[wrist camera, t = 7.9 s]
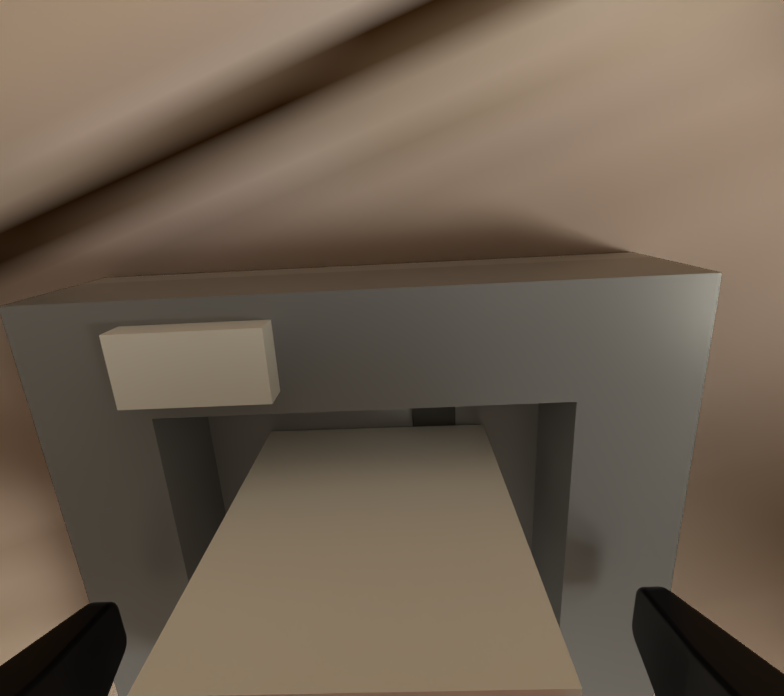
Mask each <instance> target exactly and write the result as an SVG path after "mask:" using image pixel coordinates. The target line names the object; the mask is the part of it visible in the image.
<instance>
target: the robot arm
mask: <svg viewBox="0 0 784 696" xmlns="http://www.w3.org/2000/svg"><path fill="white" fill-rule="evenodd" d="M632 632H633V636H634V640H635V642H636V645H637V648H638V650H639V653H640V656H641V658H642V661H643V664H644V666H645V669H646V672H647V674H648V677H649V680H650V682H651V685H652V688H653V690H654V693H655V696H784V674H783V673H782V672H780V671H779V670H778V669H776V668H775V667H774V666H772V665H771V664H769V663H768V662H767V661H765V660H764V659H763V658H761V657H760V656H758V655H757V654H756V653H754V652H753V651H752V650H750V649H749V648H748V647H746V646H745V645H743V644H742V643H741V642H739V641H738V640H737V639H735V638H734V637H732V636H731V635H730V634H728V633H727V632H726V631H724V630H723V629H722V628H720V627H719V626H717V625H716V624H715V623H713V622H712V621H711V620H709V619H708V618H706V617H705V616H704V615H702V614H701V613H700V612H698V611H697V610H696V609H694V608H693V607H691V606H690V605H689V604H687V603H686V602H685V601H683V600H682V599H680V598H679V597H678V596H676V595H675V594H674V593H672V592H671V591H669V590H668V589H666V588H664V587H660V586H655V587H640V588H639V589H638V590H637V592H636V597H635V604H634V611H633V619H632ZM126 645H127V636H126V632H125V628H124V625H123V621H122V618H121V614H120V611H119V608H118V605H117V604H116V603H114V602H93V603H90V604H88V605H86V606H84V607H83V608H82V609H80V610H79V611H77V612H76V613H75V614H73V615H72V616H70V617H69V618H67V619H66V620H65V621H63V622H62V623H60V624H59V625H58V626H56V627H55V628H53V629H52V630H51V631H49V632H48V633H46V634H45V635H43V636H42V637H41V638H39V639H38V640H36V641H35V642H34V643H32V644H31V645H29V646H28V647H27V648H25V649H24V650H22V651H21V652H19V653H18V654H17V655H15V656H14V657H12V658H11V659H10V660H8V661H7V662H5V663H4V664H3V665H1V666H0V696H108V694H109V691H110V689H111V686H112V683H113V681H114V678H115V676H116V673H117V671H118V668H119V666H120V663H121V661H122V658H123V656H124V653H125V650H126Z"/></svg>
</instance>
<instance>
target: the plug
mask: <svg viewBox="0 0 784 696" xmlns="http://www.w3.org/2000/svg"><path fill="white" fill-rule="evenodd" d="M127 696H582V686H581V684H580V681H579V678H578V676H577V673H576V670H575V668H574V665H573V662H572V660H571V657H570V654H569V652H568V649H567V646H566V644H565V641H564V638H563V636H562V633H561V631H560V628H559V625H558V623H557V620H556V617H555V615H554V612H553V609H552V607H551V604H550V601H549V599H548V596H547V593H546V591H545V588H544V585H543V583H542V580H541V577H540V575H539V572H538V569H537V567H536V564H535V561H534V559H533V556H532V554H531V551H530V548H529V546H528V543H527V540H526V538H525V535H524V532H523V530H522V527H521V524H520V522H519V519H518V516H517V514H516V511H515V508H514V506H513V503H512V500H511V498H510V495H509V492H508V490H507V487H506V485H505V482H504V479H503V477H502V474H501V471H500V469H499V466H498V463H497V461H496V458H495V455H494V453H493V450H492V447H491V445H490V442H489V439H488V437H487V434H486V431H485V429H484V426H483V424H482V425H452V426H421V427H390V428H359V429H329V430H298V431H271V433H270V434H269V436H268V438H267V440H266V442H265V444H264V445H263V447H262V449H261V451H260V453H259V455H258V456H257V458H256V460H255V462H254V464H253V466H252V467H251V469H250V471H249V473H248V475H247V477H246V478H245V480H244V482H243V484H242V486H241V488H240V489H239V491H238V493H237V495H236V497H235V499H234V500H233V502H232V504H231V506H230V508H229V510H228V511H227V513H226V515H225V517H224V519H223V521H222V522H221V524H220V526H219V528H218V530H217V532H216V533H215V535H214V537H213V539H212V541H211V543H210V544H209V546H208V548H207V550H206V552H205V554H204V555H203V557H202V559H201V561H200V563H199V565H198V566H197V568H196V570H195V572H194V574H193V576H192V577H191V579H190V581H189V583H188V585H187V587H186V588H185V590H184V592H183V594H182V596H181V598H180V599H179V601H178V603H177V605H176V607H175V609H174V610H173V612H172V614H171V616H170V618H169V620H168V621H167V623H166V625H165V627H164V629H163V631H162V632H161V634H160V636H159V638H158V640H157V642H156V643H155V645H154V647H153V649H152V651H151V653H150V654H149V656H148V658H147V660H146V662H145V663H144V665H143V667H142V669H141V671H140V673H139V674H138V676H137V678H136V680H135V682H134V684H133V685H132V687H131V689H130V691H129V693H128V695H127Z"/></svg>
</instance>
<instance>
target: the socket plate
mask: <svg viewBox="0 0 784 696" xmlns="http://www.w3.org/2000/svg"><path fill="white" fill-rule="evenodd" d="M721 278H722V272H717V271H713V270H708V269H704V268H700V267H695V266H691V265H686V264H682V263H678V262H673V261H669V260H664V259H660V258H656V257H651V256H647V255H642V254H638V253H633V252H627V253H606V254H586V255H565V256H544V257H523V258H503V259H482V260H461V261H441V262H420V263H399V264H378V265H358V266H337V267H316V268H296V269H275V270H254V271H233V272H213V273H192V274H171V275H151V276H130V277H109V278H103V279H99V280H95V281H91V282H88V283H84V284H80V285H77V286H73V287H69V288H65V289H62V290H58V291H54V292H51V293H47V294H43V295H39V296H36V297H32V298H28V299H24V300H21V301H17V302H13V303H10V304H6V305H2V306H0V315H1V318H2V321H3V325H4V328H5V331H6V334H7V338H8V341H9V344H10V347H11V351H12V354H13V357H14V360H15V363H16V367H17V370H18V373H19V376H20V380H21V383H22V386H23V389H24V392H25V396H26V399H27V402H28V405H29V409H30V412H31V415H32V418H33V422H34V425H35V428H36V431H37V434H38V438H39V441H40V444H41V447H42V451H43V454H44V457H45V460H46V463H47V467H48V470H49V473H50V476H51V480H52V483H53V486H54V489H55V493H56V496H57V499H58V502H59V505H60V509H61V512H62V515H63V518H64V522H65V525H66V528H67V531H68V534H69V538H70V541H71V544H72V547H73V551H74V554H75V557H76V560H77V564H78V567H79V570H80V573H81V576H82V580H83V583H84V586H85V589H86V593H87V596H88V599H89V602H90V603H93V602H114V603H116V604H117V605H118V608H119V611H120V614H121V618H122V621H123V625H124V628H125V632H126V636H127V645H126V650H125V653H124V656H123V658H122V661H121V663H120V666H119V668H118V671H117V673H116V676H115V678H114V683H115V686H116V689H117V693H118V696H127V695H128V693H129V691H130V689H131V687H132V685H133V684H134V682H135V680H136V678H137V676H138V674H139V673H140V671H141V669H142V667H143V665H144V663H145V662H146V660H147V658H148V656H149V654H150V653H151V651H152V649H153V647H154V645H155V643H156V642H157V640H158V638H159V636H160V634H161V632H162V631H163V629H164V627H165V625H166V623H167V621H168V620H169V618H170V616H171V614H172V612H173V610H174V609H175V607H176V605H177V603H178V601H179V599H180V598H181V596H182V594H183V592H184V590H185V588H186V587H187V585H188V583H189V581H190V579H191V577H192V576H193V574H194V572H195V570H196V568H197V566H198V565H199V563H200V561H201V559H202V557H203V555H204V554H205V552H206V550H207V548H208V546H209V544H210V543H211V541H212V539H213V537H214V535H215V533H216V532H217V530H218V528H219V526H220V524H221V522H222V521H223V519H224V517H225V515H226V513H227V511H228V510H229V508H230V506H231V504H232V502H233V500H234V499H235V497H236V495H237V493H238V491H239V489H240V488H241V486H242V484H243V482H244V480H245V478H246V477H247V475H248V473H249V471H250V469H251V467H252V466H253V464H254V462H255V460H256V458H257V456H258V455H259V453H260V451H261V449H262V447H263V445H264V444H265V442H266V440H267V438H268V436H269V434H270V433H271V431H298V430H329V429H359V428H390V427H421V426H452V425H482V424H483V426H484V429H485V431H486V434H487V437H488V439H489V442H490V445H491V447H492V450H493V453H494V455H495V458H496V461H497V463H498V466H499V469H500V471H501V474H502V477H503V479H504V482H505V485H506V487H507V490H508V492H509V495H510V498H511V500H512V503H513V506H514V508H515V511H516V514H517V516H518V519H519V522H520V524H521V527H522V530H523V532H524V535H525V538H526V540H527V543H528V546H529V548H530V551H531V554H532V556H533V559H534V561H535V564H536V567H537V569H538V572H539V575H540V577H541V580H542V583H543V585H544V588H545V591H546V593H547V596H548V599H549V601H550V604H551V607H552V609H553V612H554V615H555V617H556V620H557V623H558V625H559V628H560V631H561V633H562V636H563V638H564V641H565V644H566V646H567V649H568V652H569V654H570V657H571V660H572V662H573V665H574V668H575V670H576V673H577V676H578V678H579V681H580V684H581V686H582V696H653V694H654V690H653V688H652V685H651V682H650V680H649V677H648V674H647V672H646V669H645V666H644V664H643V661H642V658H641V656H640V653H639V650H638V648H637V645H636V642H635V640H634V636H633V632H632V619H633V611H634V604H635V597H636V592H637V590H638V589H639V588H640V587H655V586H660V587H664V588H666V589H668V590H669V591H670V590H671V584H672V578H673V572H674V566H675V560H676V553H677V547H678V541H679V535H680V529H681V523H682V517H683V511H684V504H685V498H686V492H687V486H688V480H689V474H690V468H691V462H692V455H693V449H694V443H695V437H696V431H697V425H698V419H699V413H700V406H701V400H702V394H703V388H704V382H705V376H706V370H707V364H708V357H709V351H710V345H711V339H712V333H713V327H714V321H715V315H716V308H717V302H718V296H719V290H720V284H721Z"/></svg>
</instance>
